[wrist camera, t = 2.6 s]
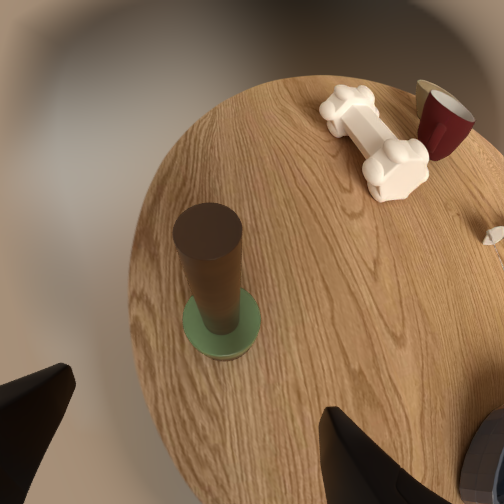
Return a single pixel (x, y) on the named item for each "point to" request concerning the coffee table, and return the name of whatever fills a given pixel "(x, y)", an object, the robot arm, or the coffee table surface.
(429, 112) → the mug
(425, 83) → the flower pot
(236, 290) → the brush
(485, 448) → the bowl
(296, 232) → the coffee table surface
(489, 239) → the eyeglasses
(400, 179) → the dog bone
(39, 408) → the robot arm
